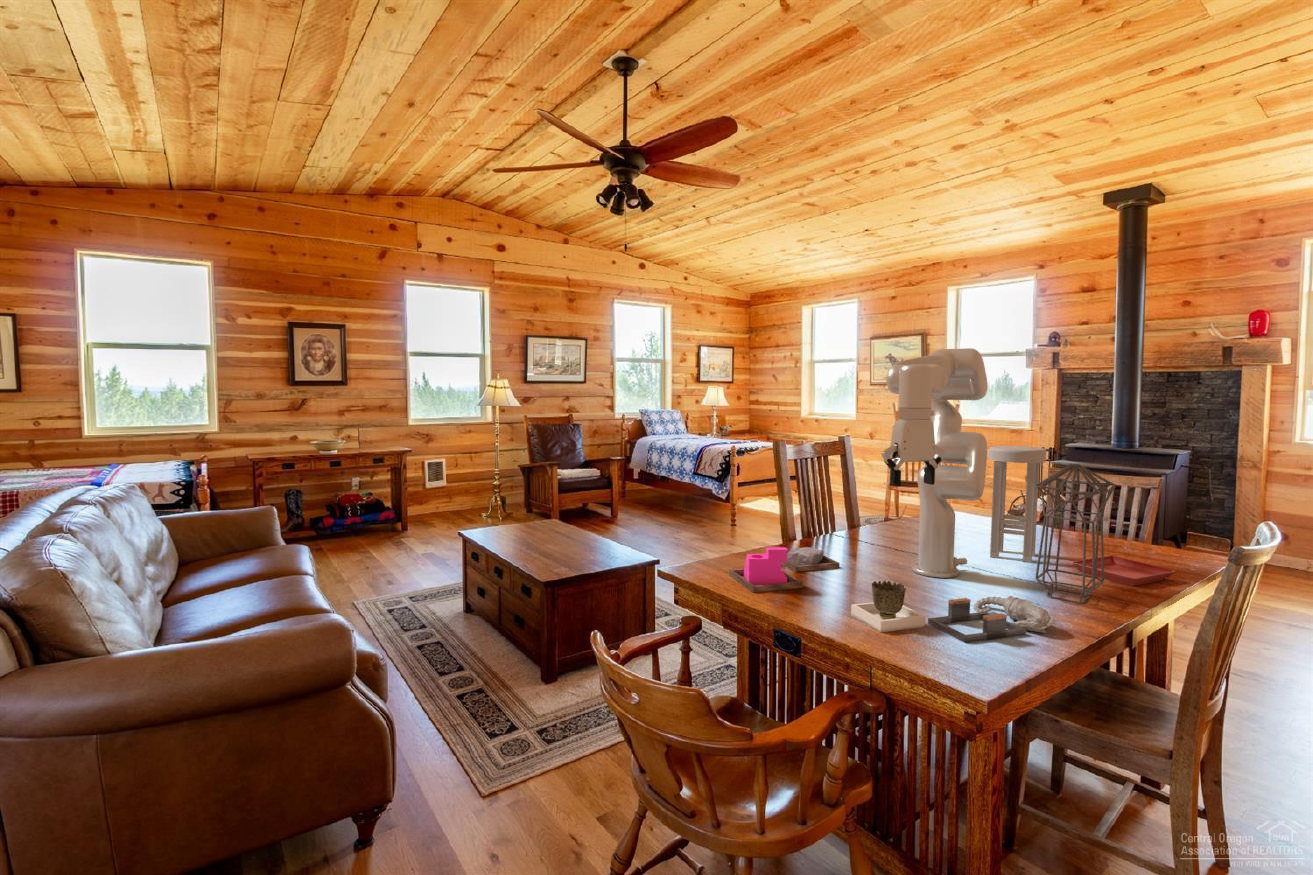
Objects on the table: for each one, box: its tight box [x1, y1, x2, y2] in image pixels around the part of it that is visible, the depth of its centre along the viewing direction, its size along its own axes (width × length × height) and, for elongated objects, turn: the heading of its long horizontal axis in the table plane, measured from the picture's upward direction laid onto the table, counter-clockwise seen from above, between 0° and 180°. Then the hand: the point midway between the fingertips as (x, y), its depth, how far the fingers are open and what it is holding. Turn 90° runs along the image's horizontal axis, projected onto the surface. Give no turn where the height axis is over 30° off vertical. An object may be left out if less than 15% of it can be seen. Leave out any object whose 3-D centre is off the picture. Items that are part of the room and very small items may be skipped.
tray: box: [850, 601, 926, 633], centre depth 150 cm, size 12×12×2 cm
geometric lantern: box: [1034, 463, 1116, 604], centre depth 166 cm, size 16×16×35 cm
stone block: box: [787, 546, 825, 566], centre depth 200 cm, size 12×5×10 cm
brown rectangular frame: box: [781, 550, 840, 572], centre depth 200 cm, size 15×17×2 cm
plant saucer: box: [1071, 555, 1176, 587], centre depth 186 cm, size 18×18×3 cm
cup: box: [871, 580, 907, 620], centre depth 150 cm, size 8×7×8 cm
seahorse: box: [973, 595, 1055, 634], centre depth 151 cm, size 5×12×20 cm
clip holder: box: [927, 597, 1027, 644], centre depth 145 cm, size 16×12×5 cm
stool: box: [988, 445, 1047, 564], centre depth 206 cm, size 16×16×35 cm
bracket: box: [743, 546, 789, 586], centre depth 181 cm, size 12×10×10 cm
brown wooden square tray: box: [728, 568, 804, 593], centre depth 181 cm, size 15×17×2 cm
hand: (912, 484), depth 159 cm, fingers open, 9 cm apart
